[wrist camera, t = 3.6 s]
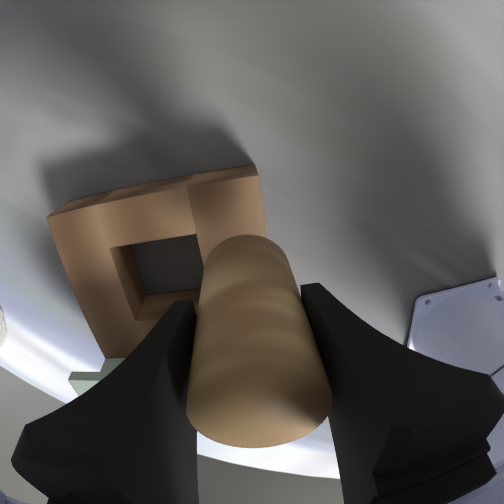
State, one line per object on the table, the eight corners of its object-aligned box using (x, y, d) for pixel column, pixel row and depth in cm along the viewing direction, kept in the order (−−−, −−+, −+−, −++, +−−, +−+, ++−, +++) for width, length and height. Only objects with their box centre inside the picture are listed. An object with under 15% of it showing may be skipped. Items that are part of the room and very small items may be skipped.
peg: (286, 229, 13) (336, 352, 6) (292, 304, 14) (328, 437, 8) (196, 240, 13) (167, 371, 6) (211, 314, 14) (204, 451, 8)
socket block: (255, 164, 18) (258, 175, 15) (276, 331, 23) (281, 359, 20) (68, 201, 18) (46, 217, 15) (123, 346, 23) (113, 373, 21)
